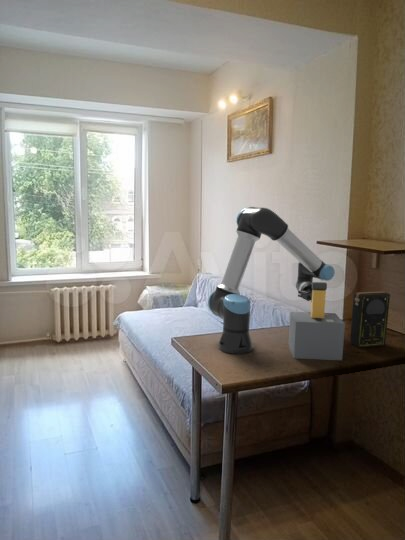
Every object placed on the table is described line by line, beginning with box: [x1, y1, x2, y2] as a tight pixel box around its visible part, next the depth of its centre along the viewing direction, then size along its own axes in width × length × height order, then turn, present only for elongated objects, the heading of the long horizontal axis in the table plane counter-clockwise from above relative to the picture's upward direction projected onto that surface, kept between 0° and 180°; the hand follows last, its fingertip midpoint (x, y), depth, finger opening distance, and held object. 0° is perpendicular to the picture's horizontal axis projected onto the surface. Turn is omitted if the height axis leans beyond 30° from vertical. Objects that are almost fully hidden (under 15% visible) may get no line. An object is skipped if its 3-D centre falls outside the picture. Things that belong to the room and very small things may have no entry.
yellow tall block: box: [310, 281, 328, 318], centre depth 180 cm, size 6×3×15 cm, turn 87°
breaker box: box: [288, 311, 346, 361], centre depth 184 cm, size 20×16×16 cm
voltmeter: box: [349, 290, 391, 349], centre depth 196 cm, size 16×9×25 cm, turn 105°
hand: (319, 302), depth 182 cm, fingers closed
